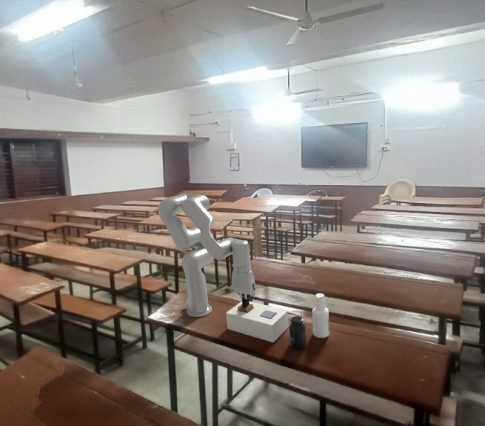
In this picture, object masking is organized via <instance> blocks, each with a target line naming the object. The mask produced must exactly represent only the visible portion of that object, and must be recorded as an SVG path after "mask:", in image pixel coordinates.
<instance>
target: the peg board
mask: <svg viewBox="0 0 485 426" xmlns="http://www.w3.org/2000/svg"><path fill="white" fill-rule="evenodd" d="M241 304H242V300H241V301H240V302H239V303H237V304H236V305H235V306H233V307H231V309H229V310H228V311H226V312H225V315H226V316H225V317H226V325H227V330H230V331H233V332H237V333H241V334H243V335H247V336H250V337H254V338H257V339H260V340H264V341H266V342H270V343H274V342H276V341H277V340H278V338H279V337H281V335H282V334H283V333H284V332H285V331H286V330H287V329H289V325H290V322H289V310H287V309H283V308H279V307H275V306H271V305H266V304H263V303H262V304H261V303H260V302H259V303H257V302H254V301H250V300H249V304H253V309H252V310H251V311H250V312H248V313H245V312H241V311H238V306H240V305H241ZM266 310H268V311H272V312H276V315H275V316H274V317H273V318H272V319H268V318H264V317H261V316H260V315H261V314H262V313H264V312H265V311H266Z"/></svg>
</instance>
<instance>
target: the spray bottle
mask: <svg viewBox="0 0 485 426" xmlns="http://www.w3.org/2000/svg"><path fill="white" fill-rule="evenodd" d="M325 301H326V299H325V294H324V293H316V294H315V305H314V308H312V310H311V313H312V314H311V317H312V334H313V336H314V337H316V338H319V339H325V338H327V337H329V336H330V311H329V309H328V308H327V307H326V302H325Z"/></svg>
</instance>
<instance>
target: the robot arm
mask: <svg viewBox="0 0 485 426" xmlns="http://www.w3.org/2000/svg"><path fill="white" fill-rule="evenodd" d="M210 207H211V203H210V200H209V198H208V197H207V196H206V195H204V194H197V193H182V194H177V195H174V196H169V197H167V198H164V199H163V200H162V201H160V202H159V204H158V207H157V212H158V216H159V218H160V220H161V222H162V223H163V225H164V226H165V227H166V229H167V231H168V234H169V235H170V237H171V239H172V241H173V243H174V245H175V247H176V248H177V250H178V251H180V252H185V251H189V250H191V249H193V248H194V249H193V250H191V251H189V252H187V253H186V254H184V255H183V257H182V258H181V266H182V269H183V271H184V275H185V283H186V290H187V297H188V299H186V300H185V303H184V306H187V309H186V314H187V315H188V316H189V317H192V318H201V317H204V316H207V315H210V313H211V312H212V311H213V308H212V305H210V304H209V301H208V300H209V298H208V291H207V289H208V288H207V281H206V276H205V274H204V272H203V271H202V269H203V268H204V267H206V266H209V264H211V263H212V262H214V259H215V260H218V261H220V260H223V259H226V258H227V257H229V256H231V255H232V265H231V267H232V268H233V270H232V274H231V288H232V291H233V292H235V294H238V296H239V298H240V299H241V301H242V306H243V307H247V306H248V305H249V301H250V298H251V297H255V295H256V281H255V276H254V272H253V270H252V265H251V257H250V256H251V255H250V246H249V242H248V241H247V240H243V239H237V238H235V237H227V238H224V239H221V240H219V241H217V240H216V239H215V238H214V237H213V236H212V234H211V228H212V226H213V225H214V223H215V218H214V217H213V216H212V215H211V214H210V212H208V210H209V209H210ZM180 213H184V215H186V216H187V218H188V219H189V220H190V221H191V222H192V223H193V224H194V225H195V227H190V228H187V226H186V224H185V221H184V220H183V219H181V217H179V216H178V215H176V214H180Z"/></svg>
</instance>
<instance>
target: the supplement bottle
mask: <svg viewBox="0 0 485 426" xmlns="http://www.w3.org/2000/svg"><path fill="white" fill-rule="evenodd" d="M290 320H291V321H290V323H289V327H288V333H289V335H288V336H289V337H288V338H289V345H290V347H291V348H292V349H293V350H299V351H300V350H303V349H305V348H306V346H307V327H306V324H304V318H303V317H302V316H300V315H295V316H292V317H291V318H290Z"/></svg>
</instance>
